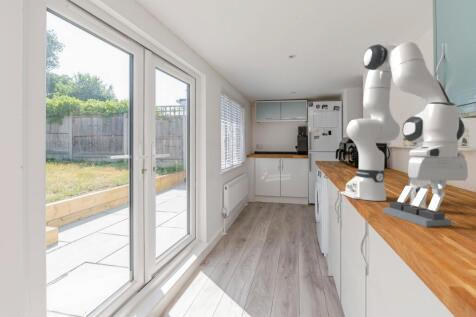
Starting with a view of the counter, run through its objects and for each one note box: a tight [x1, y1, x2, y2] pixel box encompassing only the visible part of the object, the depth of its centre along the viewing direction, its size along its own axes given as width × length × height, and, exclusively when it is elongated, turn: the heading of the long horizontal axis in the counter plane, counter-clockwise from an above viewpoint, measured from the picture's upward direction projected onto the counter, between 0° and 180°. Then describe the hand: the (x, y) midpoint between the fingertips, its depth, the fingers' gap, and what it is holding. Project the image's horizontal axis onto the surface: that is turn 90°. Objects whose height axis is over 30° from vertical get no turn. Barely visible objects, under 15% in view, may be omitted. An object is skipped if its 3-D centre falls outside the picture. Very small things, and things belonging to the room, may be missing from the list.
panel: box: [382, 201, 452, 228], centre depth 87 cm, size 17×10×4 cm, turn 13°
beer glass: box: [407, 177, 430, 209], centre depth 102 cm, size 7×7×15 cm
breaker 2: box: [412, 188, 430, 208], centre depth 88 cm, size 2×1×7 cm
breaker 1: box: [397, 185, 413, 204], centre depth 93 cm, size 2×1×7 cm
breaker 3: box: [427, 190, 446, 212], centre depth 82 cm, size 2×1×7 cm, turn 13°
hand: (437, 194), depth 81 cm, fingers closed
